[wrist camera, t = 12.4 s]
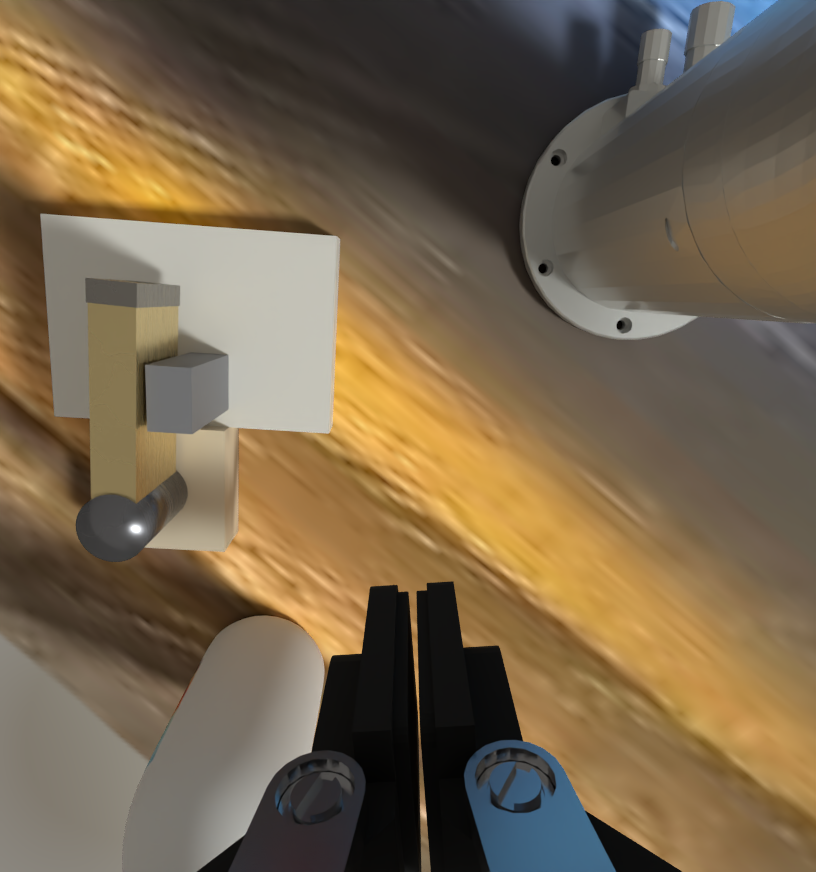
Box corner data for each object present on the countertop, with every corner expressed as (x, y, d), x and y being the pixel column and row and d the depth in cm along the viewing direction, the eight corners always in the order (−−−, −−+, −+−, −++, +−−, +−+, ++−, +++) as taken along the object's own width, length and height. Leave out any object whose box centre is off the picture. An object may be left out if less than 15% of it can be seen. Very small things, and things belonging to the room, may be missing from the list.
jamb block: (117, 412, 34) (91, 423, 31) (238, 419, 34) (224, 431, 32) (122, 524, 36) (98, 544, 33) (238, 531, 36) (224, 551, 33)
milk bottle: (233, 592, 37) (57, 919, 18) (345, 638, 38) (294, 997, 19) (189, 689, 39) (-18, 1089, 19) (298, 731, 40) (205, 1153, 20)
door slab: (61, 218, 32) (-46, 193, 24) (340, 239, 32) (323, 221, 24) (73, 409, 34) (-21, 442, 26) (332, 425, 35) (314, 463, 27)
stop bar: (187, 521, 32) (147, 564, 27) (128, 515, 32) (76, 558, 27) (192, 286, 29) (148, 284, 24) (127, 279, 29) (69, 276, 24)
